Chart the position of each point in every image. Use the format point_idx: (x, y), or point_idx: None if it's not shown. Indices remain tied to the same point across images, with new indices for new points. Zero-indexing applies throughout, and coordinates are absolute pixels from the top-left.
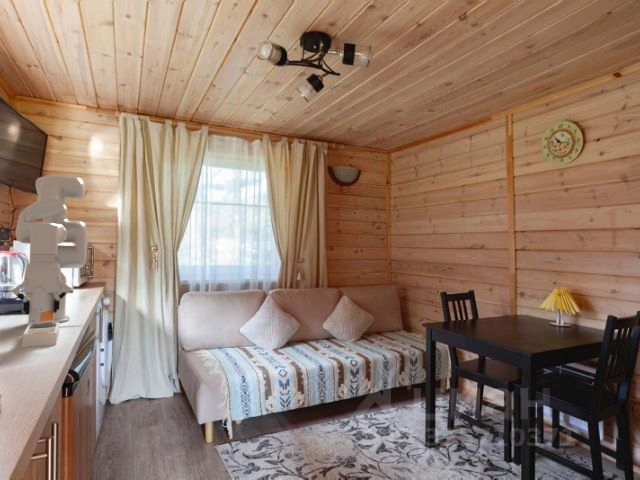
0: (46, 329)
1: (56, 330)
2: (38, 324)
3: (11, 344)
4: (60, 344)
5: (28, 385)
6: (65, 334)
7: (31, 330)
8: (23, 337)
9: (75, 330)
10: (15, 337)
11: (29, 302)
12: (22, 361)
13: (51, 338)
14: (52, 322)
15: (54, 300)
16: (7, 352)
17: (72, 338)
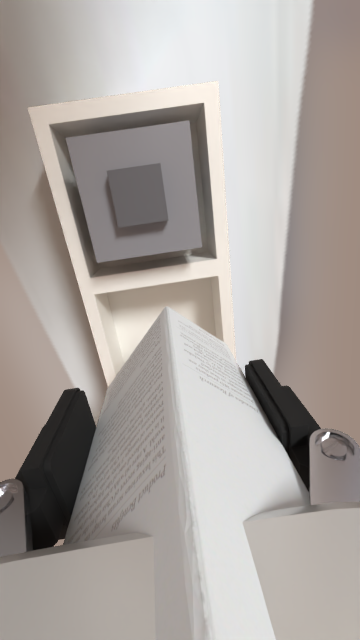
0: (176, 280)
1: (232, 347)
2: (127, 256)
3: (59, 314)
4: (238, 358)
5: None
6: (241, 158)
7: (108, 289)
8: None
9: (288, 37)
10: (5, 160)
11: (76, 515)
12: None
13: None
14: (200, 231)
15: (281, 449)
16: (97, 419)
17: (275, 268)
